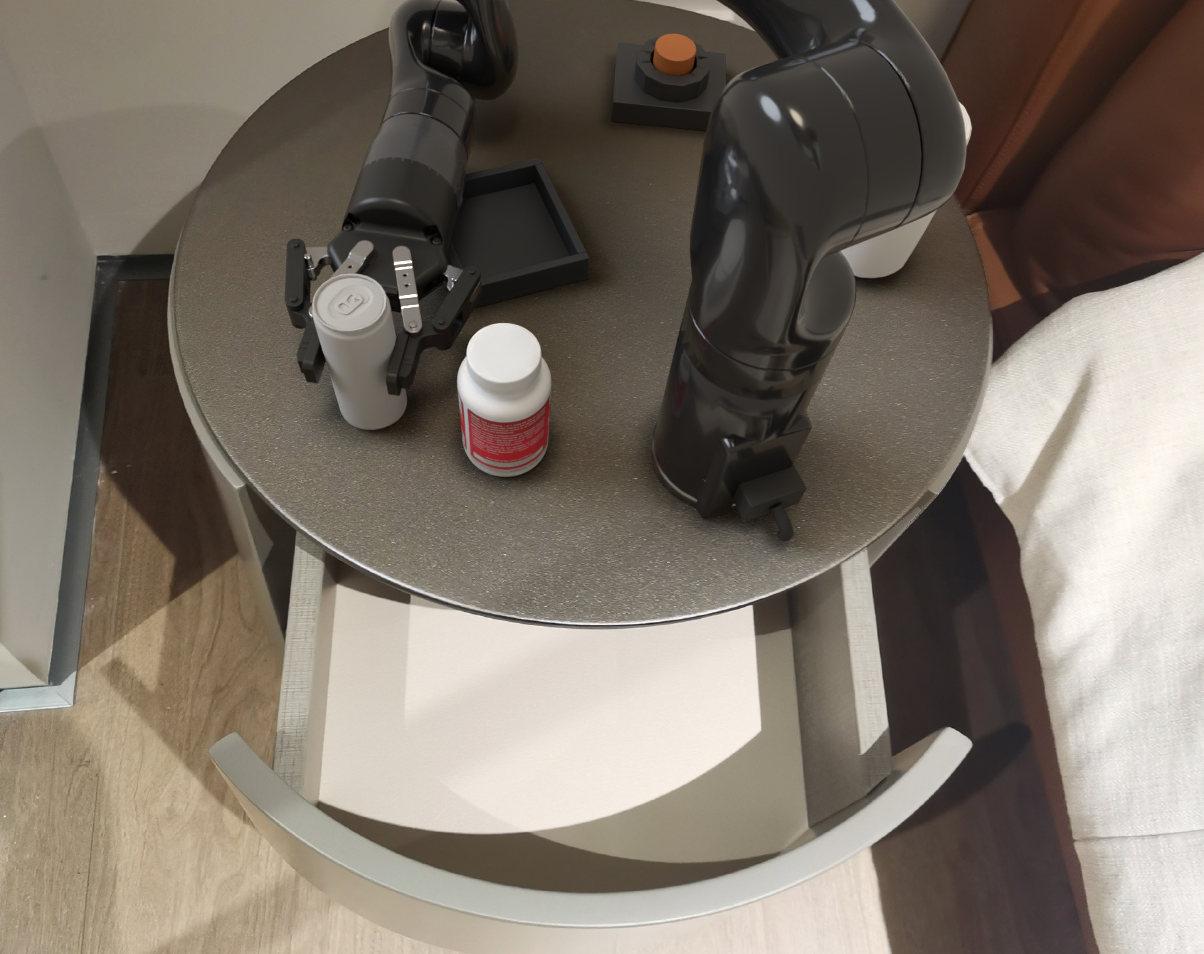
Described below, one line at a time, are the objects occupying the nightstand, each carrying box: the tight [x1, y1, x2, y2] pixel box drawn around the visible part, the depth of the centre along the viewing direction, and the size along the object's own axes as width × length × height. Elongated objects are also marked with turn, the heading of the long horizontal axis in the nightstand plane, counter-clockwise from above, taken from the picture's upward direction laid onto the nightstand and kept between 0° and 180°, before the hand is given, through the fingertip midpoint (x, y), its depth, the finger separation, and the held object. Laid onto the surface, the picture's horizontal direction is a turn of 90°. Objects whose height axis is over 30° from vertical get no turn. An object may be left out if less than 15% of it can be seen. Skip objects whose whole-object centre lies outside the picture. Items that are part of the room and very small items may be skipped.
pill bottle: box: [456, 322, 552, 478], centre depth 66 cm, size 6×6×11 cm
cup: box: [841, 100, 973, 279], centre depth 76 cm, size 8×8×14 cm
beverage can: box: [311, 274, 408, 431], centre depth 66 cm, size 5×5×12 cm
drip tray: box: [446, 157, 590, 309], centre depth 79 cm, size 11×10×2 cm
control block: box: [610, 34, 727, 132], centre depth 88 cm, size 10×8×4 cm
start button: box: [653, 33, 696, 76], centre depth 86 cm, size 4×4×2 cm
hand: (351, 381), depth 64 cm, fingers closed on beverage can, 5 cm apart
